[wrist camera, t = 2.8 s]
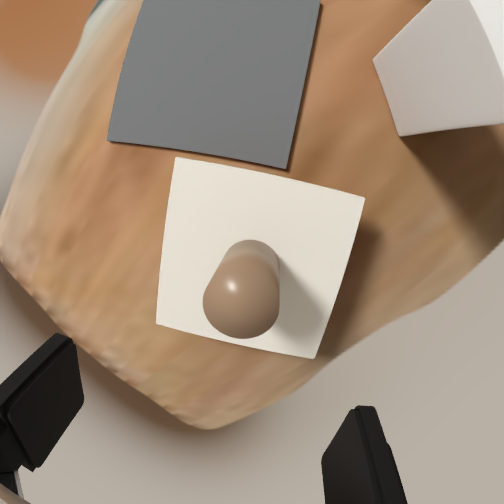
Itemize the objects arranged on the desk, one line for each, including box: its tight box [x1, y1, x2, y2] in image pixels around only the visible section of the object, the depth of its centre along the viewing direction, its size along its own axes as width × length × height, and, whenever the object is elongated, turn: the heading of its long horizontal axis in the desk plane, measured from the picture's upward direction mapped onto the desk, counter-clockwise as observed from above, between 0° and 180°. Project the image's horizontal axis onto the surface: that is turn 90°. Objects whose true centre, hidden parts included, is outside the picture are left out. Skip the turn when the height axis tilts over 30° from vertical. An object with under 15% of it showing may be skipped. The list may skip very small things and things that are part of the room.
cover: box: [156, 157, 365, 359], centre depth 19 cm, size 13×13×7 cm
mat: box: [107, 0, 321, 169], centre depth 22 cm, size 16×16×1 cm
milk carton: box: [373, 0, 504, 137], centre depth 12 cm, size 7×7×19 cm
